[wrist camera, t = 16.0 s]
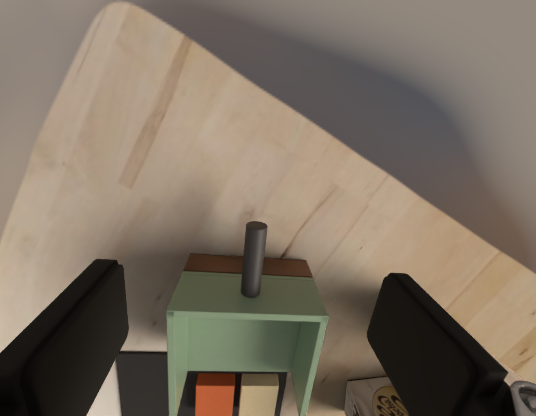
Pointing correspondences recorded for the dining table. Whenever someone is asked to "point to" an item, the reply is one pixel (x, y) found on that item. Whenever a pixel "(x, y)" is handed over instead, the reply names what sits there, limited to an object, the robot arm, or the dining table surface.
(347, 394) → the coffee box
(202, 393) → the block
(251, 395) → the block
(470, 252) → the dining table surface
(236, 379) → the mat
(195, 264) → the stand
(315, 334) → the green scoop with handle
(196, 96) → the dining table surface
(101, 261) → the robot arm
